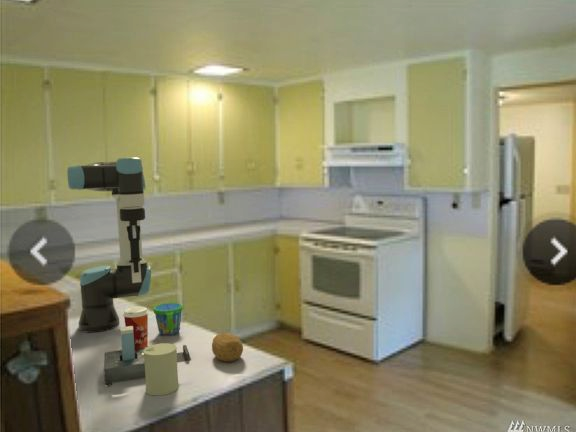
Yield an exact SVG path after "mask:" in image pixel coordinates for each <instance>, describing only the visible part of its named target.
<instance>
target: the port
mask: <svg viewBox="0 0 576 432" xmlns="http://www.w3.org/2000/svg"><path fill="white" fill-rule="evenodd" d="M149 346H150V345H149ZM149 346H147V347H149ZM147 347H140V348H134V350H135V359H132V360H125V361H123V359H122V349H120V350H119V349H118V350H112V351H105V352H104V354H103V355H104V359H103V377H104V386H105V387H106V386H107V385H108V386H112V385H113V384H114V383H121V382H126V381H133V380H140V379H146V377H145V362H144V352H143V351H144V349H145V348H147ZM108 386H107V387H108Z"/></svg>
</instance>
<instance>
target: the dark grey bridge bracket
mask: <svg viewBox="0 0 576 432" xmlns="http://www.w3.org/2000/svg"><path fill="white" fill-rule="evenodd" d="M188 361H189V362H190V361H192V358H191V355H190V352H189V349H188V346H187V344H183V345H182V352H177V363H183V362H188Z"/></svg>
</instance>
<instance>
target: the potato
mask: <svg viewBox="0 0 576 432" xmlns="http://www.w3.org/2000/svg"><path fill="white" fill-rule="evenodd" d="M211 350H212V353H213V355H214V356H215V357H216V358H217V359H218V360H220V361H223V362H228V363H230V362H234V361H235V362H236V361H237V360H238V359H239V358H240V357H241V356H242V355H243V352H244V345H243V343H242V341H241V339H240V338H239V337H238V336H237V335H234V334H231V333H228V332H222V333H218V334H216V335H215V336H214V338H213V339H212V343H211Z"/></svg>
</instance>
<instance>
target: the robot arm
mask: <svg viewBox="0 0 576 432" xmlns="http://www.w3.org/2000/svg"><path fill="white" fill-rule="evenodd" d="M143 171H144V168H143V164H142V159H141V158H140V157H119V158H117V160H116V161H98V162H93V163H89V164H85V165H80V164H79V165H78V164H77V165H71V166H68V167H67V171H66V173H67V174H66V176H67V185H68V188H69V189H70V190H77V191H80V190H86V191H87V190H89V191H95V192H111V196H112V198H113V199H115V201H116V216H117V218H116V219H117V228H118V229H117V230H118V244H119V257H120V258H119V261H118V262H117V263H116V268H115V269H114V268H113V269H112V267H111V266H110V265H99V266H94V267H91V268H88V269H86V270H84V271H82V272H81V273H80V274H79V275H80V276H79V281H80V282H79V286H80V295H81V306H82V307H81V313H80V315H79V316H80V317H79V320H78V330H79V331H80V332H84V333H85V332H86V333H98V332H99V333H100V332H104V331H109V330H112V329H114V328H117V327H118V326H119V325H120V316H119V314H118V312H117V311H116V307H115V303H114V299H123V298H130V297H141V296H145V295H148V294H149V292H150V289H151V283H152V266H151V265H149V264H148V261H147V260H145V258H144V256H143V244H142V243H143V242H142V229H141V221H144V220H146V208H145V207H144V206H145V193H144V190H145V191H146V181H145V176H144V172H143Z"/></svg>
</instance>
